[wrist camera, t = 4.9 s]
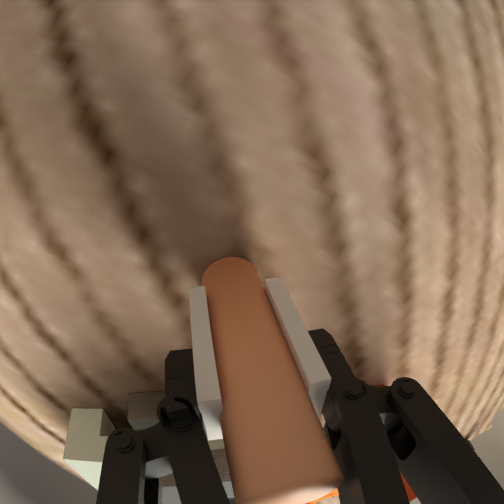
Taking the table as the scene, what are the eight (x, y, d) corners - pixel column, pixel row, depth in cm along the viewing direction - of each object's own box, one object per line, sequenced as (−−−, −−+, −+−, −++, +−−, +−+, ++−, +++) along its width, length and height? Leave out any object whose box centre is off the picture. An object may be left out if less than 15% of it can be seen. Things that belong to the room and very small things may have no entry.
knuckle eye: (71, 408, 20) (63, 458, 16) (259, 394, 23) (275, 447, 18) (104, 451, 24) (102, 494, 19) (259, 439, 27) (272, 483, 22)
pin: (198, 260, 16) (232, 492, 6) (258, 253, 17) (355, 462, 6) (204, 308, 18) (239, 517, 7) (258, 301, 18) (333, 496, 8)
